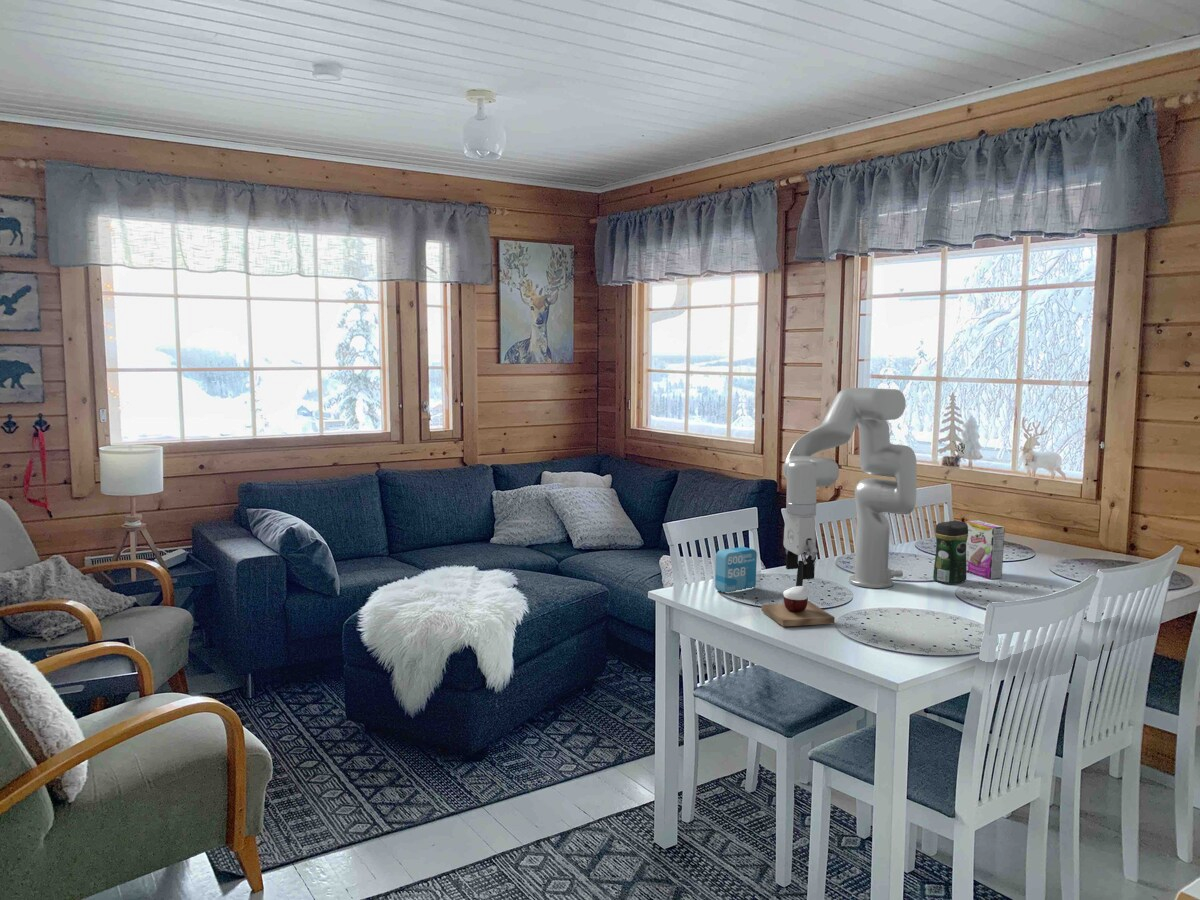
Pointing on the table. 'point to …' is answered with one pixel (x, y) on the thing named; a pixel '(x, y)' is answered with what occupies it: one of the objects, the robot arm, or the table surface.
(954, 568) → the coffee jar
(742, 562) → the data package
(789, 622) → the stand
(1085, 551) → the table surface
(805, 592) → the cocoa
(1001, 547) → the candy bar box
